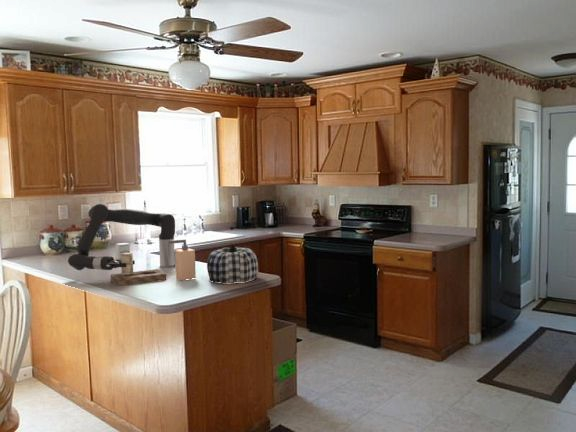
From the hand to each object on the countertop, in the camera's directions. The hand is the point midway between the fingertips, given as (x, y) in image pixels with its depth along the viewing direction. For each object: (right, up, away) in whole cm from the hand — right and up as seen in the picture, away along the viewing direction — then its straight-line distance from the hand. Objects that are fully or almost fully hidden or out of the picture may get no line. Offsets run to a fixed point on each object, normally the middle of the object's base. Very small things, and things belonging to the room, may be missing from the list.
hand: (130, 263), depth 282 cm
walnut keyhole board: (+3, -9, +4) cm, 11 cm away
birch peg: (-2, -10, +1) cm, 10 cm away
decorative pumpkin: (+56, -9, +4) cm, 56 cm away
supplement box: (-24, -5, +63) cm, 67 cm away
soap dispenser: (+27, -9, +6) cm, 29 cm away
